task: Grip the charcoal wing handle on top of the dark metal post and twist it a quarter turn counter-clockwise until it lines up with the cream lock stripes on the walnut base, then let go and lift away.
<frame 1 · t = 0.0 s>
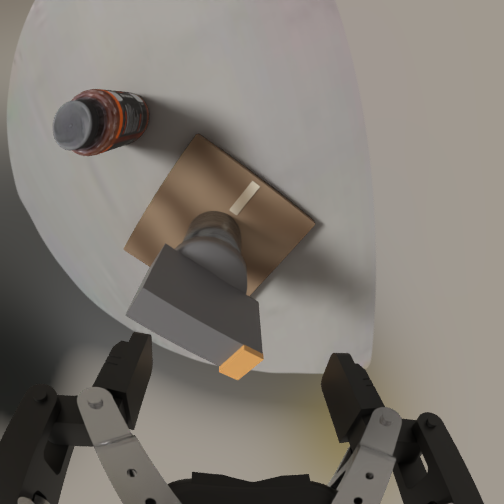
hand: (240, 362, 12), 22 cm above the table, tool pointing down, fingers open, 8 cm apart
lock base: (215, 231, 33), on the table
supplement bottle: (126, 118, 27), on the table
wing cap: (200, 302, 21), point 14 cm above the table, hinge at 0.0°
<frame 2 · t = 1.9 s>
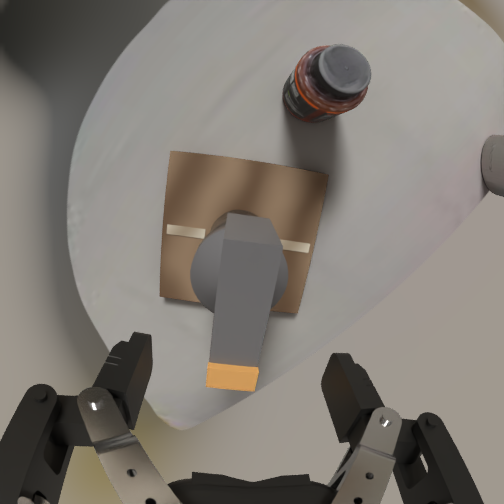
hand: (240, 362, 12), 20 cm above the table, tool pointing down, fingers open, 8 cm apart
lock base: (238, 234, 31), on the table
supplement bottle: (308, 97, 27), on the table
wing cap: (239, 292, 18), point 14 cm above the table, hinge at 0.0°
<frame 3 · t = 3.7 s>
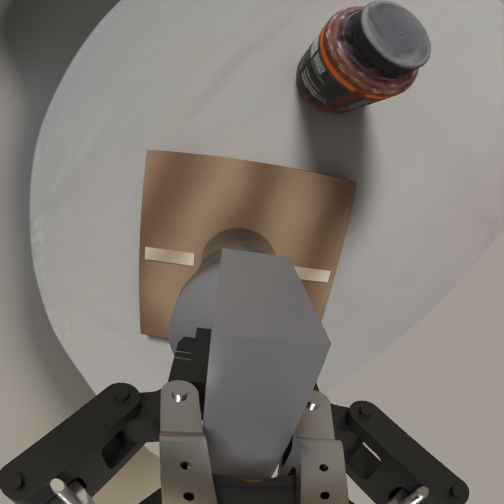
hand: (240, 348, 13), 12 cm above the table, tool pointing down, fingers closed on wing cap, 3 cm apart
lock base: (238, 258, 24), on the table
supplement bottle: (329, 81, 20), on the table
wing cap: (242, 372, 11), point 14 cm above the table, hinge at 0.0°, touching gripper
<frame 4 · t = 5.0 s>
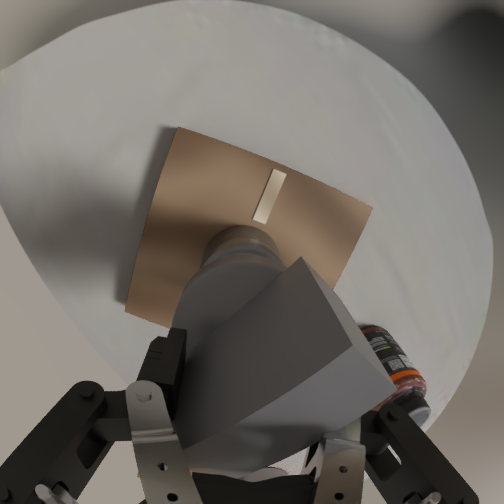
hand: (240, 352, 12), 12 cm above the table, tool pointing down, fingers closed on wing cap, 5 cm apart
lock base: (241, 256, 24), on the table
supplement bottle: (365, 346, 28), on the table
wing cap: (247, 372, 11), point 14 cm above the table, hinge at 65.8°, touching gripper
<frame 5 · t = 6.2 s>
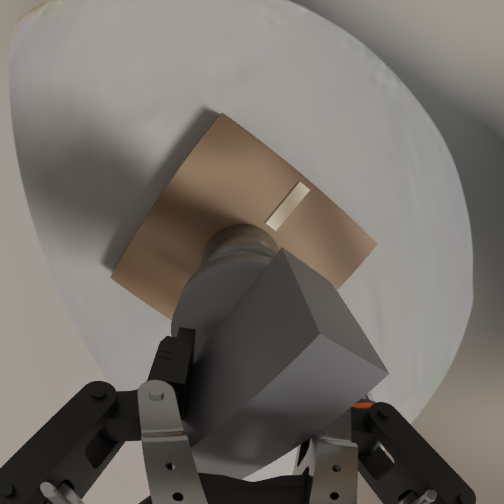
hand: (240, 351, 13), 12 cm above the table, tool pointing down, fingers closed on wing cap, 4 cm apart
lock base: (241, 255, 24), on the table
wing cap: (246, 370, 11), point 14 cm above the table, hinge at 92.0°, touching gripper
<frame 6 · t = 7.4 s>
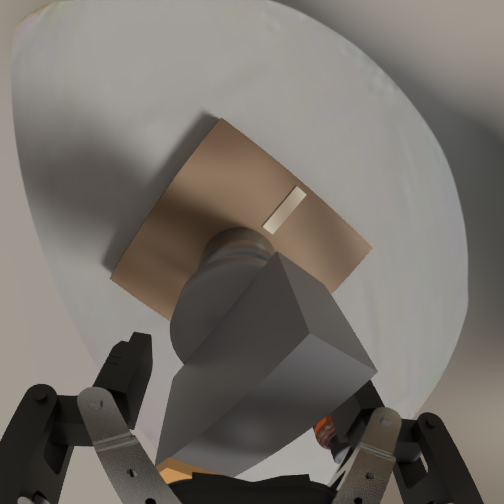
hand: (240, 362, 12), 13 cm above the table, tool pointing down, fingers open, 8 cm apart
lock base: (238, 257, 24), on the table
supplement bottle: (325, 372, 29), on the table
wing cap: (242, 369, 11), point 14 cm above the table, hinge at 92.6°
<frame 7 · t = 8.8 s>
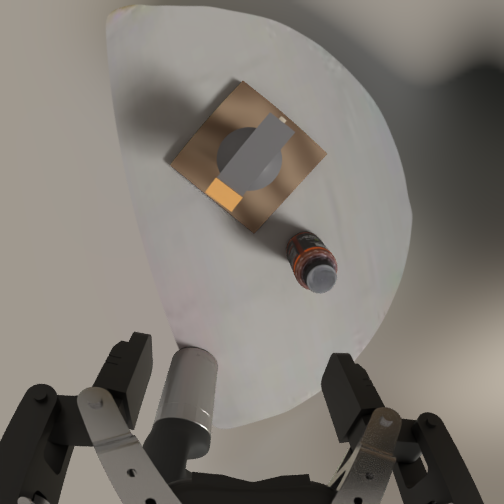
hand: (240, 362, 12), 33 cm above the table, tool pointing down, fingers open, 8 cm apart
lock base: (248, 156, 40), on the table
supplement bottle: (304, 248, 46), on the table
wing cap: (249, 159, 28), point 14 cm above the table, hinge at 92.6°
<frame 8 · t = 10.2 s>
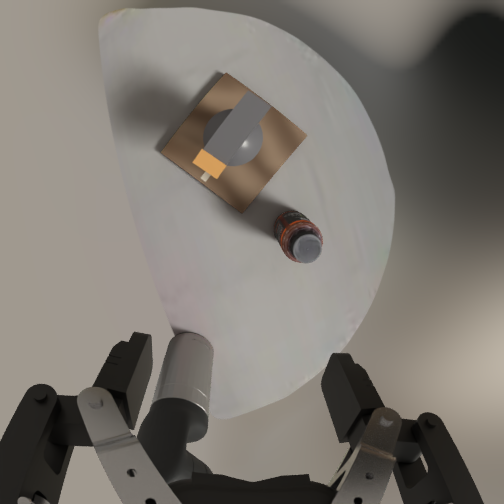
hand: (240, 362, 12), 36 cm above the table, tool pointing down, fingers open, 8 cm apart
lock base: (233, 141, 42), on the table
supplement bottle: (291, 227, 48), on the table
wing cap: (232, 135, 30), point 14 cm above the table, hinge at 92.6°
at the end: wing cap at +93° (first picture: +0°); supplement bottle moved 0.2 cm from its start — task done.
